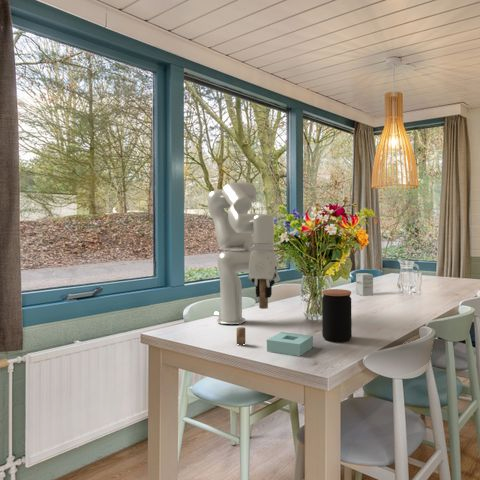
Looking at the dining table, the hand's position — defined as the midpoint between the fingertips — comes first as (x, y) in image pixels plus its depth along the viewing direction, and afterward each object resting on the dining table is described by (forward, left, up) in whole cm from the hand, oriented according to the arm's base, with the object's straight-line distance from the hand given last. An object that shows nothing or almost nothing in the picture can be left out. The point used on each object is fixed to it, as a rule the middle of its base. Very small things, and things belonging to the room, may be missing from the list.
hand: (263, 296), depth 163 cm
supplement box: (+6, +118, -17) cm, 119 cm away
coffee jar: (+23, +14, -17) cm, 32 cm away
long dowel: (0, 0, -4) cm, 4 cm away
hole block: (+13, -6, -16) cm, 22 cm away
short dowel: (-5, -9, -16) cm, 19 cm away
